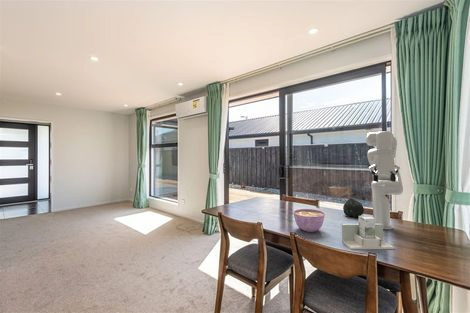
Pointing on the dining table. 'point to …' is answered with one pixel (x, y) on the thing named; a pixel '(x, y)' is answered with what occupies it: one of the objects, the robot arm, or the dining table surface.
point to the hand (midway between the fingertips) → (384, 181)
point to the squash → (353, 208)
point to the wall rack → (356, 242)
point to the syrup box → (367, 227)
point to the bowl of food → (309, 219)
